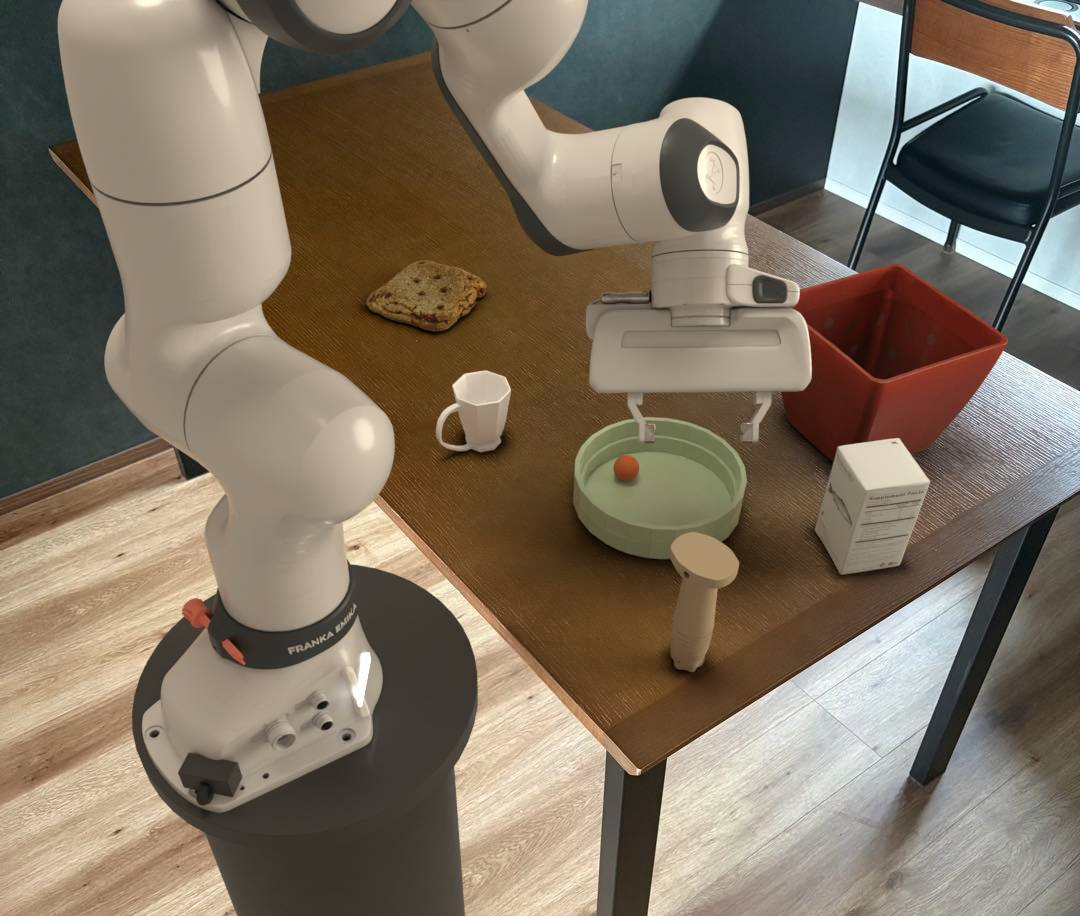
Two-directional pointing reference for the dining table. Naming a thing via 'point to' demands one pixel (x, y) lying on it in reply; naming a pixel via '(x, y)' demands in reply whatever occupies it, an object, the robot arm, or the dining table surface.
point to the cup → (478, 410)
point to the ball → (626, 468)
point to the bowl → (658, 486)
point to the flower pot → (887, 360)
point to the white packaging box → (871, 505)
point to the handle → (698, 594)
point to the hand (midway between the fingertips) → (697, 442)
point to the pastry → (427, 295)
